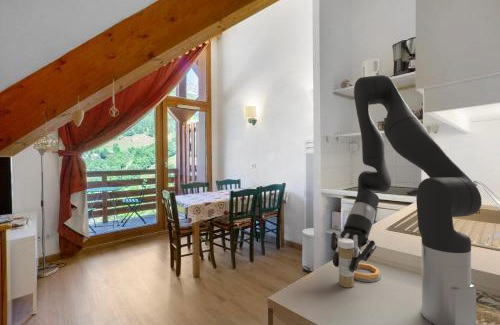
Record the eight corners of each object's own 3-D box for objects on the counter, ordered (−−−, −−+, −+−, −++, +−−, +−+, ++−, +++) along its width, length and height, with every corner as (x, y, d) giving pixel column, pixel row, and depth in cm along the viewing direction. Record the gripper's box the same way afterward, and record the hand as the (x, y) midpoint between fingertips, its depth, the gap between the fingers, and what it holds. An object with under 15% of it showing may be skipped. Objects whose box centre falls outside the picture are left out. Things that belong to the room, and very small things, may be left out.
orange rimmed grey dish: (388, 279, 81) (388, 273, 81) (360, 284, 79) (360, 277, 79) (366, 266, 91) (366, 261, 91) (340, 270, 89) (340, 264, 89)
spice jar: (343, 279, 82) (343, 236, 82) (357, 284, 79) (357, 240, 78) (335, 284, 79) (334, 239, 79) (349, 289, 76) (348, 243, 75)
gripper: (335, 210, 89) (316, 255, 81) (380, 216, 79) (363, 269, 70) (343, 222, 93) (325, 267, 84) (386, 230, 82) (371, 282, 74)
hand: (343, 267), depth 77 cm, fingers closed on spice jar, 4 cm apart
